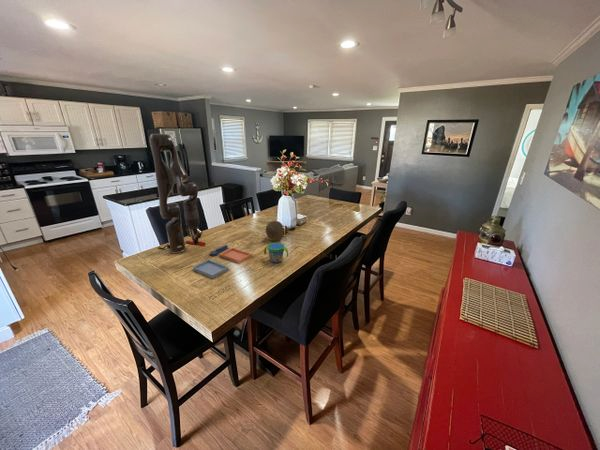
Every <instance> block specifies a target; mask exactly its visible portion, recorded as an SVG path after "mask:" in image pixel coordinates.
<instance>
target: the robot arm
mask: <svg viewBox="0 0 600 450" xmlns="http://www.w3.org/2000/svg"><path fill="white" fill-rule="evenodd" d="M149 146H150V150H151V154H152V159H153V164H154V173H155V180H156V185H157V192H158V201H159V202H158V205H159V213H160V216H161V218H162V219H164V220H169V219H171V220H170V221H168V222H167V223H165V228H166V234H167V240H168V243H167V244H166V245H164V246H163V247H161V246H158V249H160V250H164V249H166V248H167V249H169V250H170V251H169V252H170V253H171V254H182V253H184V252H186V250H187V247H186V244H185V241H186V240H185V237H184V236H185V235H184V230H183V224H182V214H181V213H182V212H181V207H180V205H179V204H178V203H177V202H171V203H168V199H169V196H170V194H171V192H172V191H173V188H174V186H175V185H176V191H177V194H178V195H179V196H181V197H188V198H186V199H185V200H183V201H182V205H183V215H184V221H185V222H184V223H185V226H186V228H185V231H186V233H187V235H188V236H189V238H191V241H193V240H194V241H195V245H194V246H196V245H197V244H199V242H198V241H199V239H201V238H202V236H203V230H200V226H199V225H200V224H201V222H200V221H201V220H200V215H199V210H198V204H197V202H198V201H197V200H198V194H199V188H198V185H197V184H196V183H195V182H191V181H190V182H187V180H188V179H189V175H188V173H187V172H186V170H185V168H184V166H183V164H182V161H181V159H180V156H179V152H178V150H177V147H176V145H175V142H174V140H173V138H172V136H171V135H170V134H167V133H151V134H150V135H149ZM162 152H169V155H170V160H169V165H167V164H166V162H165V161H164V159H163V157H162V154H161V153H162Z"/></svg>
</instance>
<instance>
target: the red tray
mask: <svg viewBox="0 0 600 450" xmlns="http://www.w3.org/2000/svg"><path fill="white" fill-rule="evenodd" d="M219 257H221V258H223V259H226V260H228V261H231V262H233V263H237V264H241V263H243V262H244V261H246V260H248V259H250V258H252V257H253V256H252V253H251V252H247V251H244V250H242V249H237V248H235V247H231V248H229V249H226V250H224V251H222V252H220V253H219Z"/></svg>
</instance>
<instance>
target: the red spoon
mask: <svg viewBox="0 0 600 450" xmlns="http://www.w3.org/2000/svg"><path fill="white" fill-rule="evenodd" d="M184 241H185V245H189V246H198V247H203V248H205V247H206V244H207V242H205V241H199V240H198V242H199V244H197V245H195V241H194V240H184Z"/></svg>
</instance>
